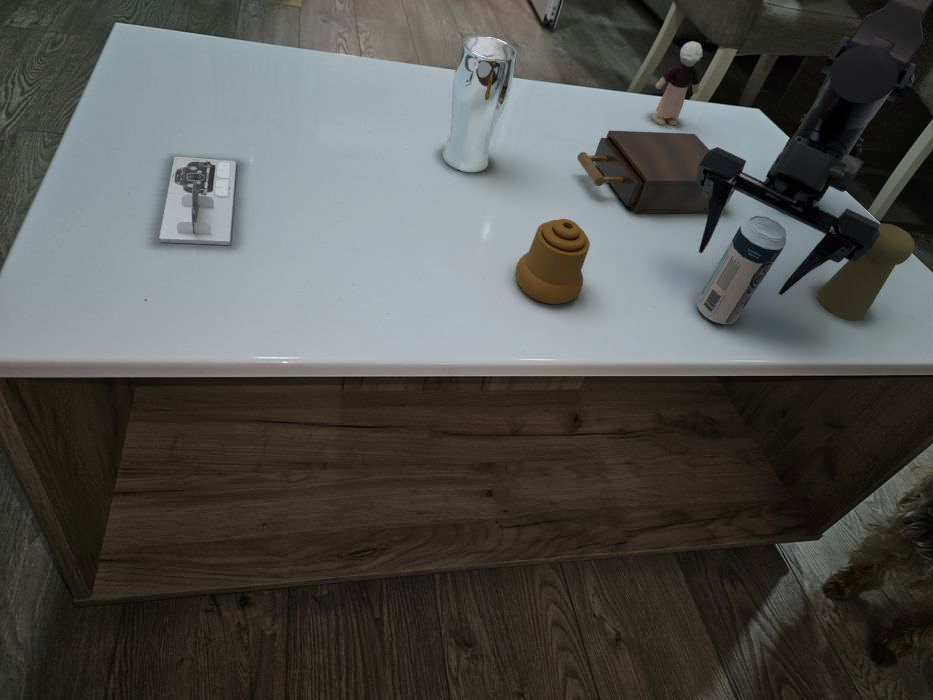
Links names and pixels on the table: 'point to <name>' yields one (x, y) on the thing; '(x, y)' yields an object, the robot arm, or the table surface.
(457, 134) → the beer glass
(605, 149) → the drawer
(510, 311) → the table surface
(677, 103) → the grandmother figurine
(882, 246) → the game pawn
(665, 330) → the table surface
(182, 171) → the white flat box
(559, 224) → the ornamental finial
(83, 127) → the table surface
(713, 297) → the beer can
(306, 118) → the table surface
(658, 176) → the cabinet
